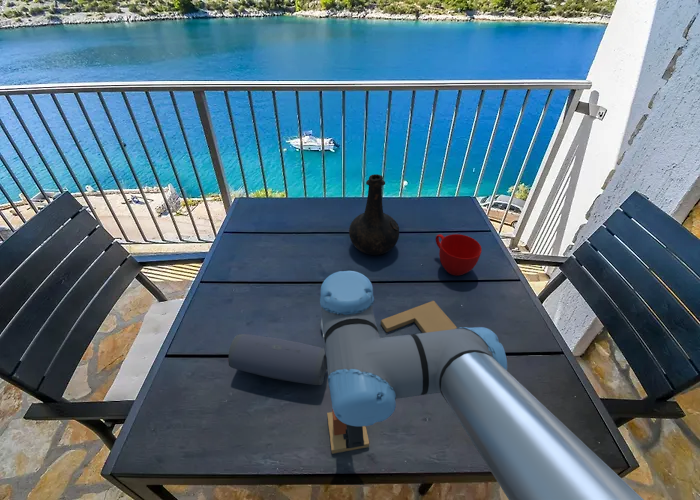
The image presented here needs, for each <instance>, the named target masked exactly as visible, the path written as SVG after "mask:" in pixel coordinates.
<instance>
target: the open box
mask: <svg viewBox="0 0 700 500" xmlns="http://www.w3.org/2000/svg"><path fill="white" fill-rule="evenodd" d="M326 417H327V424H328V432H329V434H328V435H329V442H330V450H331V454H332V455H333V454H338V453H343V452H348V451H355V450H360V449H365V448H369V447H370V440H369V434H368V430H367V426H363V439H364V446H361V447H355V448H347V449H346V440H344V438H343V434H346V429H347V427H346V424H344V423H343V422H341V421H340V420H339V419H338V418H337V417H336V416H335V414H334V411H333V408H331V411H330V412H326Z"/></svg>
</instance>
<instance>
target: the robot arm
mask: <svg viewBox="0 0 700 500" xmlns="http://www.w3.org/2000/svg"><path fill="white" fill-rule="evenodd" d="M320 286H321V287H320V297H319V303H320V309H321V320H322V323H323V332H322V340H323V348H324V352H325V364H326V368H327V370H326V371H327V383H328V388H329V393H330V394H329V395H330V400H331V406H332V407H331V408H332V409H333V411H334V414H335V416H336V417H337V418H338V419H339V420H340V421H341V422H343V423H344V424H346V427H347V429H346V434H343V438H344V440H346V449H347V448H355V447H361V446H364V439H363V426H366V427H369V426H373V425H374V424H375V423H383V422H384V421H386V420H388V419H389V418H390V417H391V416H392V414H394V412H395V410H396V407H397V403H396V400H397V399H404V398H405V399H406V398H410V397H411V398H413V397H419V396H426V395H434V394H440V395H441V396H442V397H443V399H444V401H446V403H447V405H448V407H450V409H451V411H452V412H453V414H454V415H455V417H456V419H457V420H458V422H459V424H460V425H461V427H462V428H463V429H464V431H465V433H466V434H467V436H468V438H469V439H470V441H471V442H472V444H473V445H474V447H475V449H476V450H477V452H478V453H479V455H480V456H481V458H482V460H483V461H484V463H485V464H486V466H487V468H488V469H489V472H491V474H492V476H493V477H494V479H495V480H496V482H497V483H498V485H499V487H500V488H501V490H502V492H503V493H504V495H505V496H506V498H507V499H508V500H645V499H644V498H643V497H642V496H641V495H640V494H639V493H638V492H636V490H634V489H633V488H632V487H631V486H630V485H629V484H628V483H627V482H626V481H625V480H624V479H623V478H621V477H620V476H619V474H617V473H616V472H615V471H614V470H613V469H612V468H611V467H610V466H609V465H608V464H607V463H606V462H605V461H603V459H601V457H599V456H598V455H597V454H596V453H595V452H594V451H593V450H592V449H591V448H590V447H589V446H587V445H586V444H585V443H584V441H582V440H581V439H580V438H579V437H578V436H577V435H576V434H575V433H574V432H572V430H571V429H570V428H568V426H566V425H565V424H564V423H563V422H562V421H561V420H560V419H559V418H558V417H557V416H556V415H554V413H552V412H551V411H550V410H549V408H547V407H546V406H545V405H544V404H543V403H542V402H541V401H540V400H538V398H536V397H535V396H534V394H532V393H531V392H530V390H528V389H527V388H526V387H525V386H524V385H523V384H522V383H521V382H519V380H517V379H516V378H515V377H514V376H513V375H512V374H511V373H510V372H509V371H508V360H507V355H506V351H505V348H504V346H503V344H502V343H501V342H500V341H499V337H498V335H497V334H496V333H495V332H494V331H492V329H490V328H487V327H484V326H475V327H466V326H464V327H463V326H462V327H461V326H460V327H457V328H456V329H451V330H444V331H436V332H428V333H422V332H421V333H412V334H403V335H394V336H393V335H392V336H385V337H381V336H380V333H379V329H378V326H377V322H376V317H375V314H374V306H373V305H374V302H375V297H374V287H373V284H372V281H370V279H369V278H368V277H367V276H366V275H364V274H363V273H361V272H358V271H356V270H343V271H340V270H338V271H336V272H333V273H331V274H330V275H328V276H327V277H326V278H325V279H324V280H323V282H322V284H321V285H320Z"/></svg>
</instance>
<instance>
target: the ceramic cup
mask: <svg viewBox="0 0 700 500" xmlns="http://www.w3.org/2000/svg"><path fill="white" fill-rule="evenodd" d="M440 239H441V240H440ZM435 244H436V245H437V248H438V249H439V261H440V263H441V265H442V268H444V270H445V271H446V272H447V273H448V274H450V275H452V276H462V275H465V274H468V273H469V272H470V271H472V270H474V268H475V267H476V266H477V264H478V262H479V259H480V257H481V255H482V245H481V244H480V243H479V241H477V240H476V239H474V238H473V237H471V236H469V235H466V234H461V233H460V234H459V233H453V234H448V235H446V236H444V235H443V234H437V235H436V236H435Z"/></svg>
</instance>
